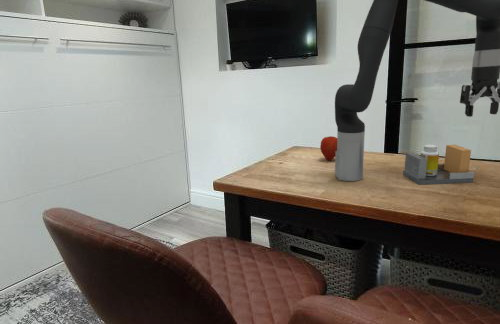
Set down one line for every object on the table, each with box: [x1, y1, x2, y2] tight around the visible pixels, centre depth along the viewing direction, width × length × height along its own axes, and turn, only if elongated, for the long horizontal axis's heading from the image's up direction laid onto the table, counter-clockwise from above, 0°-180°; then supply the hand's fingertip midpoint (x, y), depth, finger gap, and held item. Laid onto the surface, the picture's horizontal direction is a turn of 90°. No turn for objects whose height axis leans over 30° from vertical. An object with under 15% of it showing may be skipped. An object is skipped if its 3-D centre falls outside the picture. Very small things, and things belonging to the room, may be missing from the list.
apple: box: [319, 136, 337, 161], centre depth 147 cm, size 9×8×11 cm
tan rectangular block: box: [443, 144, 472, 173], centre depth 116 cm, size 3×9×9 cm, turn 0°
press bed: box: [402, 151, 475, 186], centre depth 117 cm, size 18×12×8 cm, turn 90°
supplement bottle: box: [420, 144, 440, 176], centre depth 116 cm, size 6×6×10 cm
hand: (481, 115), depth 112 cm, fingers open, 8 cm apart
